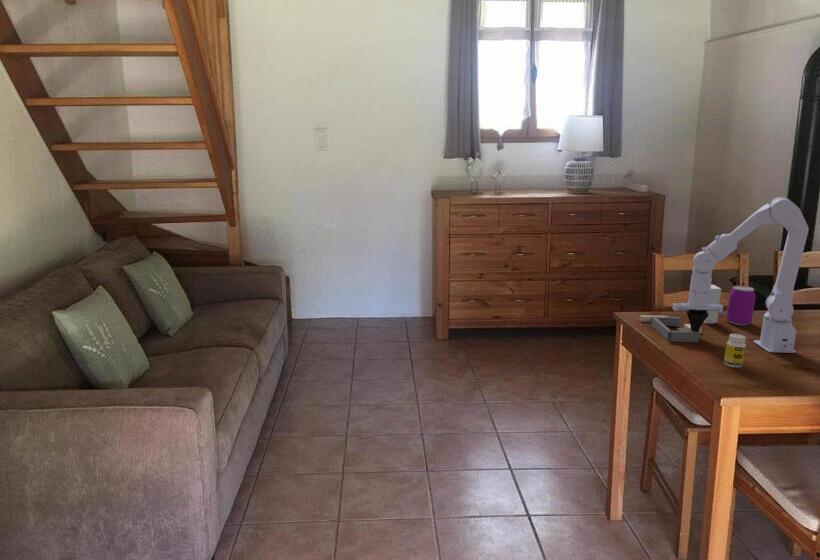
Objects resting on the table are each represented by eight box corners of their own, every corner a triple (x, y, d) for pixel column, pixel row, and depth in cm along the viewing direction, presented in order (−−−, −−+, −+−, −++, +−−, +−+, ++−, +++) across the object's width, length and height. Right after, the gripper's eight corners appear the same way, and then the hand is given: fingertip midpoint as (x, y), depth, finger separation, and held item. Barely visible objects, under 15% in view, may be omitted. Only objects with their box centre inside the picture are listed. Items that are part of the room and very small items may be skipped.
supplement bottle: (732, 368, 174) (736, 339, 172) (719, 362, 179) (723, 333, 177) (746, 367, 176) (751, 337, 174) (733, 361, 180) (738, 332, 178)
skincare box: (717, 323, 214) (722, 288, 211) (704, 323, 214) (709, 288, 211) (709, 318, 220) (714, 284, 217) (696, 318, 220) (701, 284, 217)
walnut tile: (693, 338, 198) (694, 332, 198) (680, 338, 198) (681, 332, 198) (688, 334, 202) (689, 328, 202) (675, 334, 202) (676, 328, 202)
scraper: (678, 325, 212) (679, 319, 211) (643, 324, 212) (643, 318, 211) (670, 318, 218) (671, 313, 218) (636, 317, 219) (637, 312, 218)
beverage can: (746, 320, 219) (751, 285, 216) (754, 326, 211) (760, 291, 208) (722, 318, 220) (727, 284, 217) (730, 325, 212) (735, 290, 210)
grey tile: (701, 334, 204) (701, 328, 203) (688, 333, 204) (689, 327, 203) (695, 330, 208) (696, 324, 207) (683, 329, 208) (683, 324, 207)
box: (698, 342, 195) (699, 332, 194) (668, 341, 195) (669, 332, 195) (678, 326, 211) (679, 317, 210) (650, 325, 211) (651, 316, 210)
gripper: (718, 288, 201) (712, 329, 204) (671, 287, 201) (666, 328, 204) (728, 294, 194) (722, 337, 197) (679, 292, 194) (674, 335, 197)
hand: (694, 333), depth 200 cm, fingers closed
